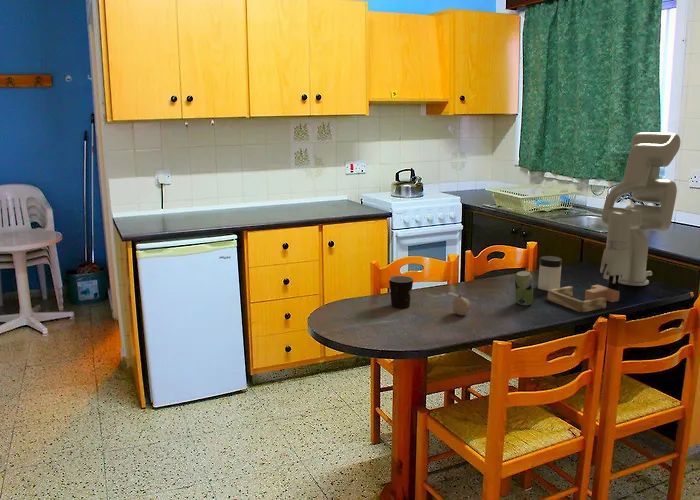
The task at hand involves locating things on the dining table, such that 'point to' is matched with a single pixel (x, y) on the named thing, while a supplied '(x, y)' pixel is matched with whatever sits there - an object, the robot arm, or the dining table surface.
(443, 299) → the dining table surface
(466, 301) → the garlic bulb
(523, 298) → the beverage can
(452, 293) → the butter knife
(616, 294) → the t block
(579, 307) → the dock
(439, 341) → the dining table surface
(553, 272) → the jar
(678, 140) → the robot arm
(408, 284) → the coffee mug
